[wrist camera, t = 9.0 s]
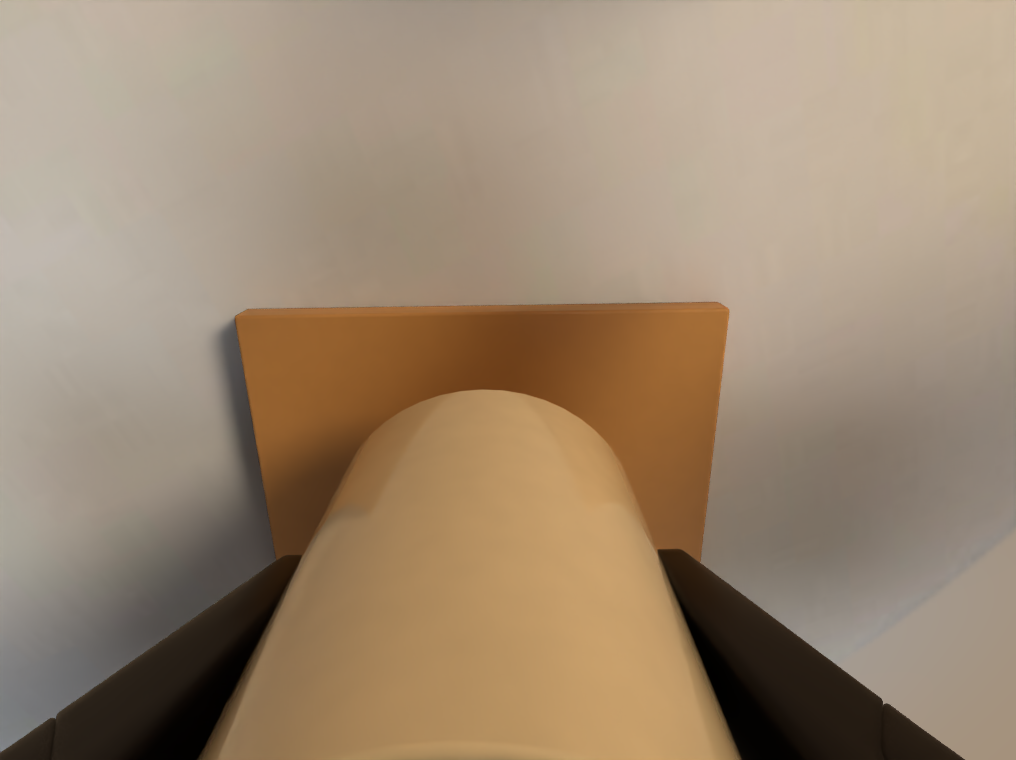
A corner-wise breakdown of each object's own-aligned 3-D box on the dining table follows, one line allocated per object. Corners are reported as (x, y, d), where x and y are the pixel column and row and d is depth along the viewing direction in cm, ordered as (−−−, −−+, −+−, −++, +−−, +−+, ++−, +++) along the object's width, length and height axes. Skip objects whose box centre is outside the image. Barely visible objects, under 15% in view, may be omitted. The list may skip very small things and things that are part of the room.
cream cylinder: (645, 385, 9) (875, 740, 4) (627, 642, 11) (762, 1162, 5) (318, 391, 9) (20, 756, 3) (352, 647, 11) (189, 1173, 5)
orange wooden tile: (719, 301, 11) (731, 308, 11) (688, 586, 14) (696, 604, 13) (245, 308, 11) (232, 316, 11) (292, 593, 14) (283, 612, 13)
